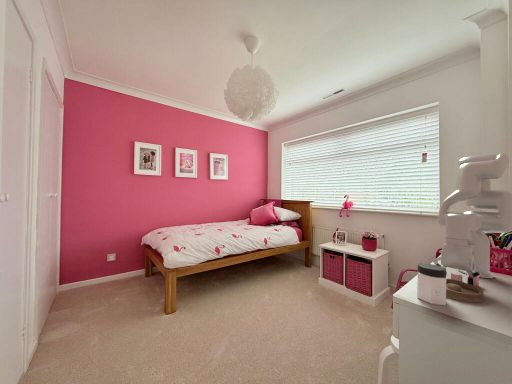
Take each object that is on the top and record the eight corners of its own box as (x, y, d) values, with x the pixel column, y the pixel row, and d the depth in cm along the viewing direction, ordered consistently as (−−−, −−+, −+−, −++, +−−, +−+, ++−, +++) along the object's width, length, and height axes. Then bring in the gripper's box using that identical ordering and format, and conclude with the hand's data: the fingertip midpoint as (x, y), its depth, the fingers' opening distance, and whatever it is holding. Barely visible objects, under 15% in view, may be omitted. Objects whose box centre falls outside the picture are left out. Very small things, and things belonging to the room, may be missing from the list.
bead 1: (451, 282, 93) (451, 272, 93) (462, 285, 90) (462, 275, 90) (450, 284, 90) (450, 274, 91) (461, 287, 88) (461, 277, 88)
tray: (433, 281, 94) (433, 274, 94) (484, 294, 82) (484, 287, 82) (424, 290, 84) (424, 283, 84) (481, 307, 72) (481, 298, 72)
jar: (424, 303, 73) (425, 269, 73) (411, 293, 81) (411, 262, 81) (453, 306, 72) (454, 271, 72) (436, 295, 80) (437, 264, 80)
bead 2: (467, 282, 94) (467, 272, 94) (479, 285, 91) (479, 275, 91) (466, 284, 91) (466, 274, 91) (478, 287, 88) (478, 276, 89)
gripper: (487, 245, 86) (486, 288, 86) (433, 237, 100) (432, 275, 99) (486, 247, 82) (485, 293, 81) (429, 239, 95) (428, 278, 94)
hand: (456, 283), depth 90 cm, fingers open, 7 cm apart
